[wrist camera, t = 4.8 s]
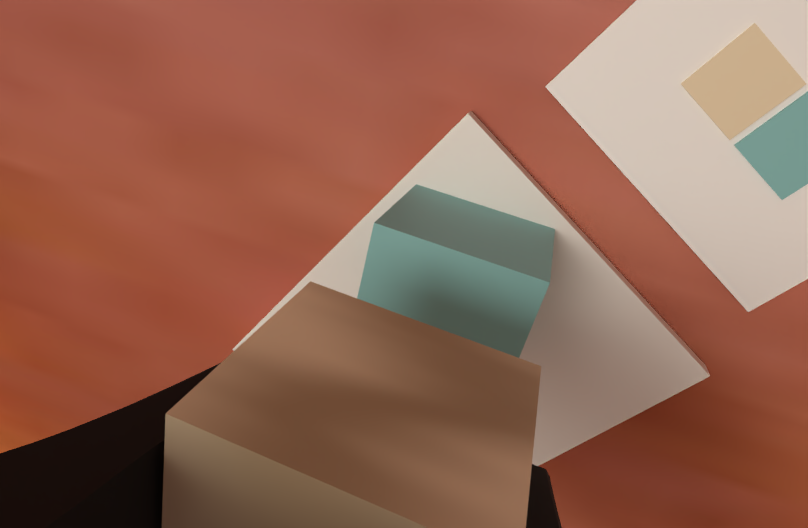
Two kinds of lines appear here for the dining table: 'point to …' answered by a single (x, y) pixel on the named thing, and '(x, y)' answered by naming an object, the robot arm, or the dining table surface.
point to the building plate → (561, 307)
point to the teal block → (459, 268)
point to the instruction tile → (708, 128)
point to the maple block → (353, 427)
